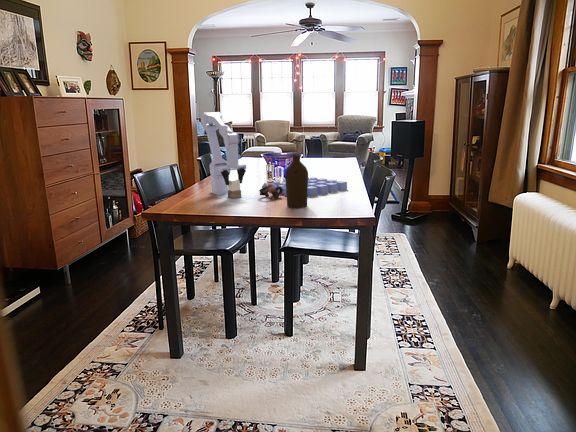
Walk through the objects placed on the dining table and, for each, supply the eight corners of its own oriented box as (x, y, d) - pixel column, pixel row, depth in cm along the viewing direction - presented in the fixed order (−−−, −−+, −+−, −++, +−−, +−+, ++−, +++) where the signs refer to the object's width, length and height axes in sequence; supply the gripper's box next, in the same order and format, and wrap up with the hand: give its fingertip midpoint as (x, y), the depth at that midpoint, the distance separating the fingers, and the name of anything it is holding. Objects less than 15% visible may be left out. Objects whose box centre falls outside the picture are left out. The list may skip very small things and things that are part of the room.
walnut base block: (227, 197, 232) (227, 189, 231) (236, 196, 235) (236, 188, 234) (232, 198, 228) (232, 191, 227) (241, 197, 231) (240, 189, 230)
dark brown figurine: (266, 203, 221) (259, 188, 222) (262, 207, 230) (256, 193, 231) (287, 194, 225) (280, 179, 226) (283, 199, 234) (276, 185, 235)
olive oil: (312, 207, 208) (311, 153, 202) (291, 209, 204) (290, 154, 198) (302, 202, 217) (301, 151, 211) (282, 205, 213) (281, 152, 207)
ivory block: (228, 189, 231) (227, 180, 229) (235, 188, 233) (235, 179, 232) (232, 191, 227) (232, 181, 226) (240, 189, 230) (239, 180, 228)
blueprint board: (216, 197, 235) (216, 196, 235) (235, 194, 242) (235, 193, 242) (233, 202, 221) (233, 201, 221) (253, 199, 228) (253, 198, 228)
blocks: (299, 200, 226) (298, 190, 225) (259, 191, 252) (258, 182, 251) (347, 190, 247) (347, 181, 246) (305, 183, 273) (305, 175, 272)
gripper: (223, 159, 219) (225, 186, 222) (248, 156, 227) (250, 183, 230) (216, 158, 224) (218, 185, 228) (241, 155, 233) (242, 181, 236)
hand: (233, 184), depth 229 cm, fingers open, 7 cm apart
